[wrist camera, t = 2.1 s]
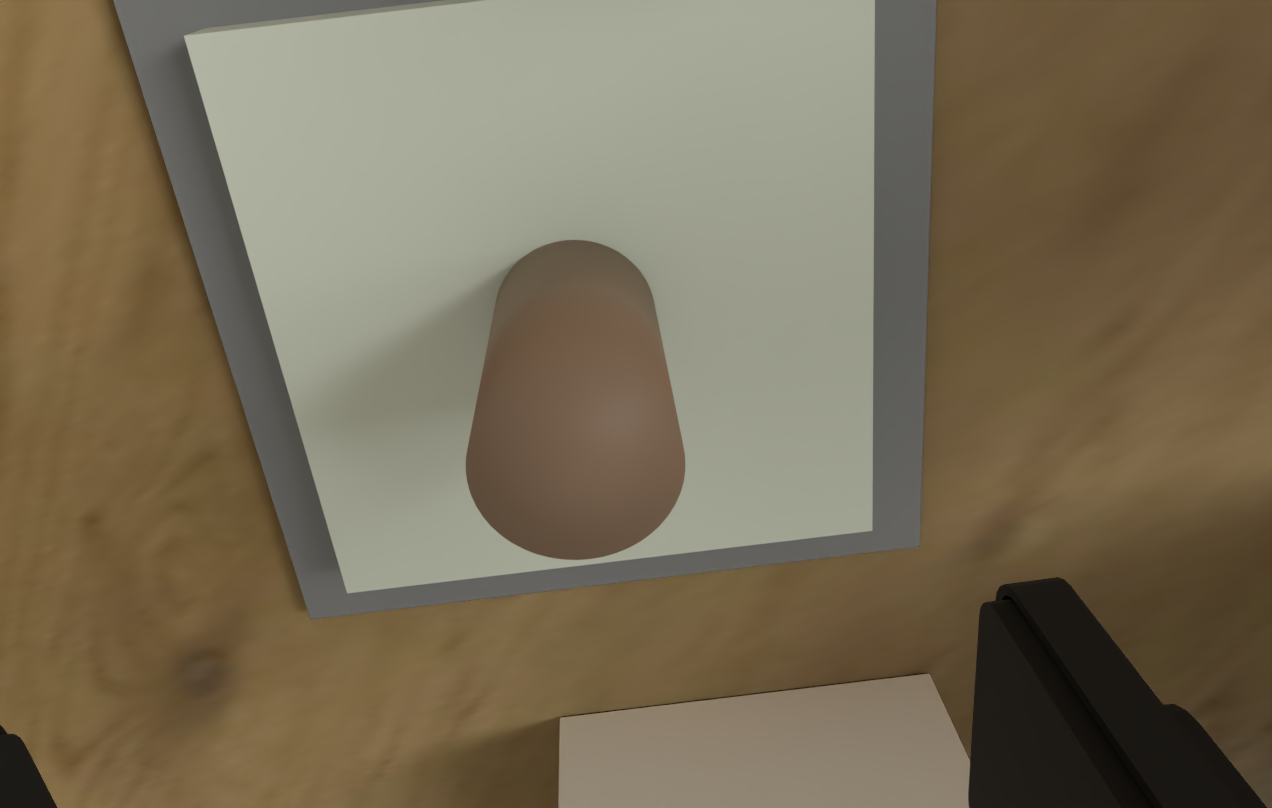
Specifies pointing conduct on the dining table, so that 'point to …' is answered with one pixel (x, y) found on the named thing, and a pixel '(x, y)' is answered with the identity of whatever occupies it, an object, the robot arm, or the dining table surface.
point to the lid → (562, 271)
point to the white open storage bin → (771, 751)
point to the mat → (903, 129)
